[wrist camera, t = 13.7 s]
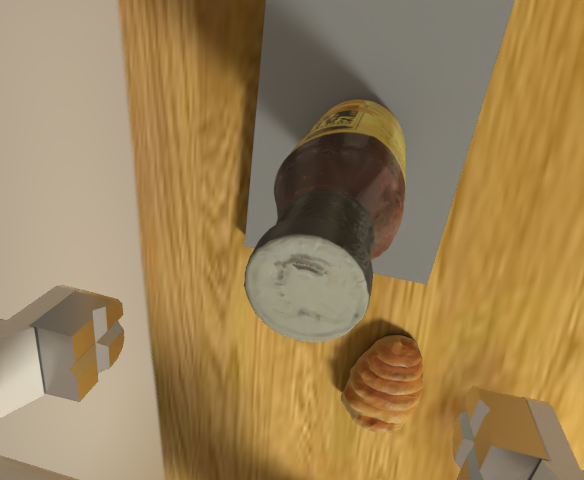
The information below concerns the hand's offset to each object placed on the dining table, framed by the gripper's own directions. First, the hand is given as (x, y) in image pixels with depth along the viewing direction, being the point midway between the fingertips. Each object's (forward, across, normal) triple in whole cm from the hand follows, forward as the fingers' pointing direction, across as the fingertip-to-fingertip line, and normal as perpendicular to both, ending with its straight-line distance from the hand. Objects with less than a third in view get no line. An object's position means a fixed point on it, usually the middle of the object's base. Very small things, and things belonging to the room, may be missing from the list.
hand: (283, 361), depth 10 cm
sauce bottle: (+24, 0, 0) cm, 24 cm away
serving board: (+25, 0, 0) cm, 25 cm away
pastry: (+26, -6, +21) cm, 34 cm away
